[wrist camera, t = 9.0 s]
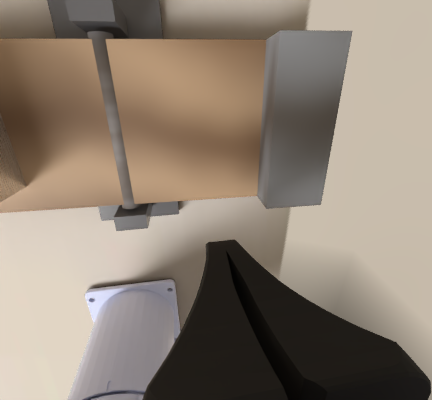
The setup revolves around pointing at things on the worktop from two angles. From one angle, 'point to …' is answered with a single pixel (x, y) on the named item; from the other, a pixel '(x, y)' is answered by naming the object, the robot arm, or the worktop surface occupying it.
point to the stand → (121, 29)
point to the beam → (171, 118)
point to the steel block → (8, 167)
